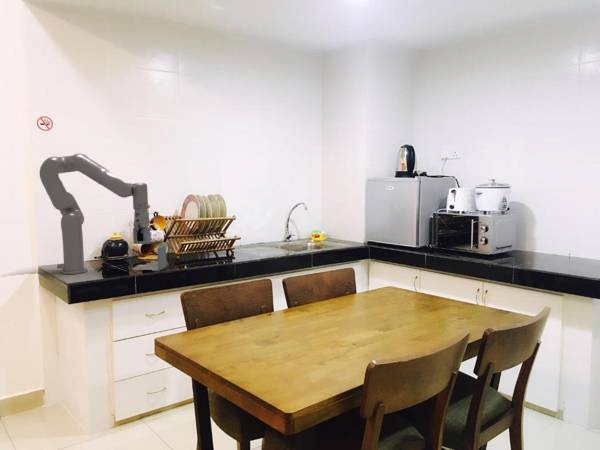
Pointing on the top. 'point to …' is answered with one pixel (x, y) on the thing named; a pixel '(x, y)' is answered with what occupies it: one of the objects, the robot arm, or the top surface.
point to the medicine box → (145, 236)
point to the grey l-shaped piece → (155, 264)
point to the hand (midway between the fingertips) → (142, 240)
